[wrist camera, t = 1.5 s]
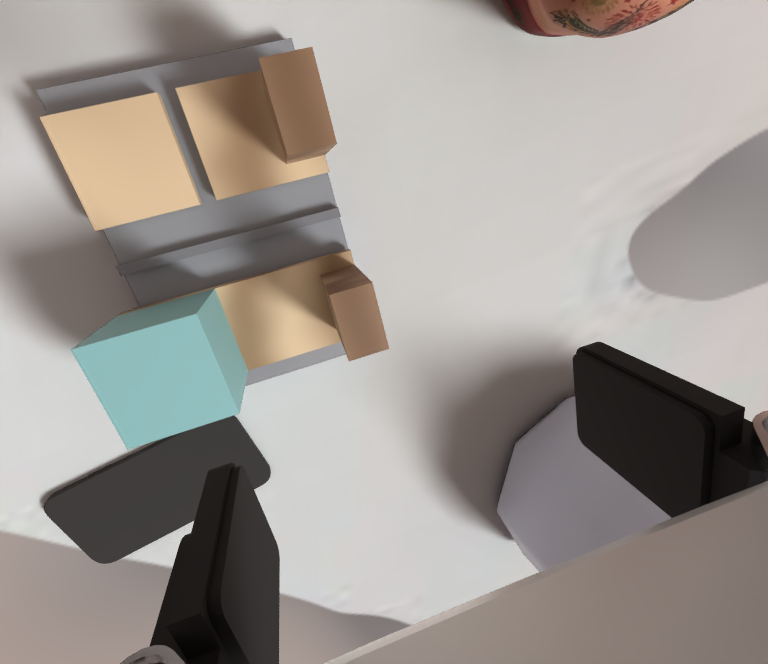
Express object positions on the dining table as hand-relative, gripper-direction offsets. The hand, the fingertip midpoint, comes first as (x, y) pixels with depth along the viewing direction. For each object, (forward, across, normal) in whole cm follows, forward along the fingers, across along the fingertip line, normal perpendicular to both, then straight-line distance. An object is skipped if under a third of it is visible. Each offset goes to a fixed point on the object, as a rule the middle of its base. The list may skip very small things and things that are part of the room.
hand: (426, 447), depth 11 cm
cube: (+18, +10, 0) cm, 21 cm away
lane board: (+20, +6, -5) cm, 22 cm away
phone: (+21, +17, +12) cm, 29 cm away
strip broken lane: (+19, +2, -11) cm, 22 cm away
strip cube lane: (+19, +6, 0) cm, 20 cm away
